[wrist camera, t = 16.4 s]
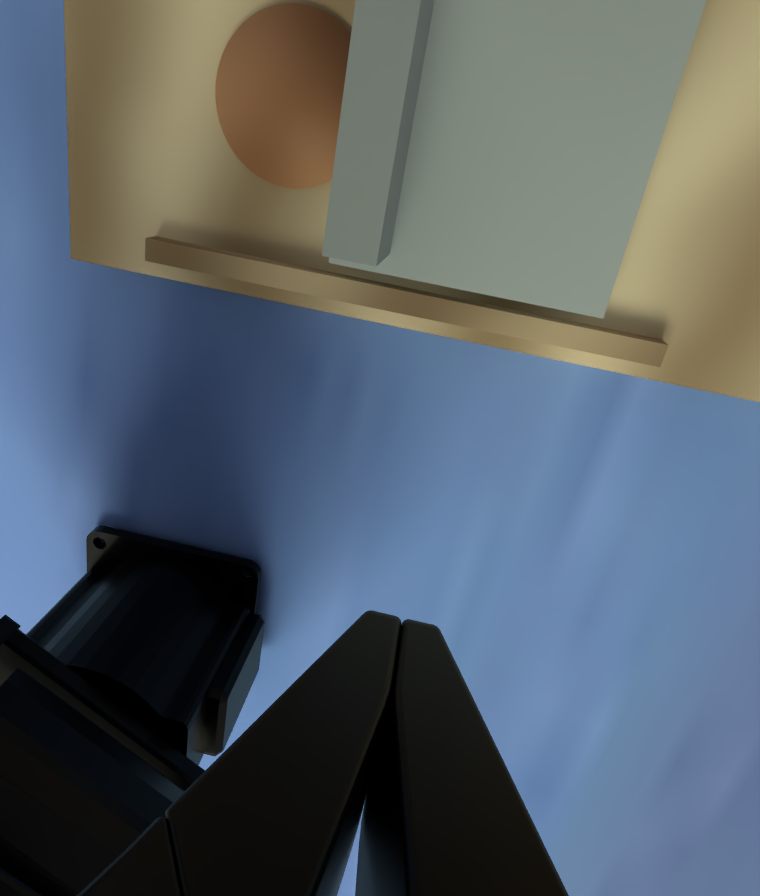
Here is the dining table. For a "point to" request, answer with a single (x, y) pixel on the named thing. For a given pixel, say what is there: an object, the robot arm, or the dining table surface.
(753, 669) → the dining table surface
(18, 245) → the dining table surface
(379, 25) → the slide cover
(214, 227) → the puzzle board
